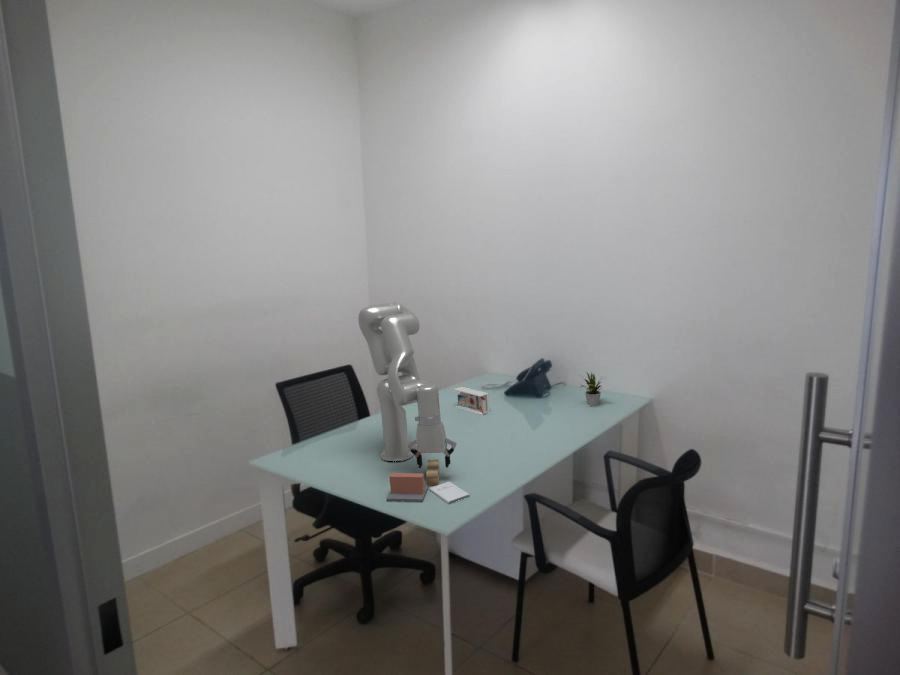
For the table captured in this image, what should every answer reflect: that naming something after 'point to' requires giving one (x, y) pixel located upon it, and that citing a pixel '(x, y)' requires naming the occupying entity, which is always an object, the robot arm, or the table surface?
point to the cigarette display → (473, 400)
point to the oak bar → (432, 473)
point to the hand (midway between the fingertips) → (434, 466)
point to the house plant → (592, 391)
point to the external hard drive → (449, 492)
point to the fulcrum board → (408, 496)
